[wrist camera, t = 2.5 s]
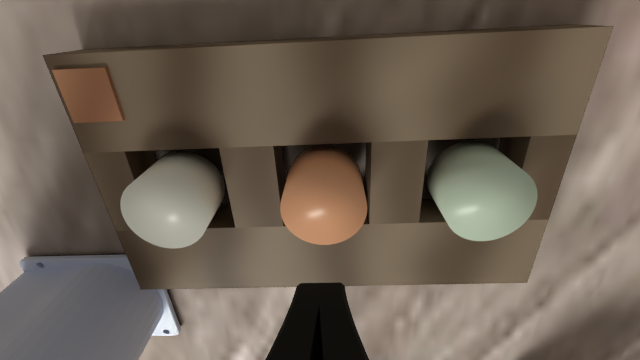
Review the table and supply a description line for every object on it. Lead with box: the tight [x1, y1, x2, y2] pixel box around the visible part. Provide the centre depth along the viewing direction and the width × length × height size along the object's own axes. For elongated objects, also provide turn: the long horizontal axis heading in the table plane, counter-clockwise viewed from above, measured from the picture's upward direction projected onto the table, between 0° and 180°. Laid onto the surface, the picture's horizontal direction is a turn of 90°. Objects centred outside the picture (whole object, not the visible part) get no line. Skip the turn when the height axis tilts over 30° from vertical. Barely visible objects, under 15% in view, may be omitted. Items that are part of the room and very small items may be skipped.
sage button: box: [427, 140, 538, 241], centre depth 16 cm, size 4×4×3 cm
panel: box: [43, 25, 613, 290], centre depth 18 cm, size 24×14×3 cm, turn 93°
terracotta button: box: [280, 146, 367, 245], centre depth 16 cm, size 4×4×3 cm
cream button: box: [120, 151, 225, 248], centre depth 16 cm, size 4×4×3 cm
